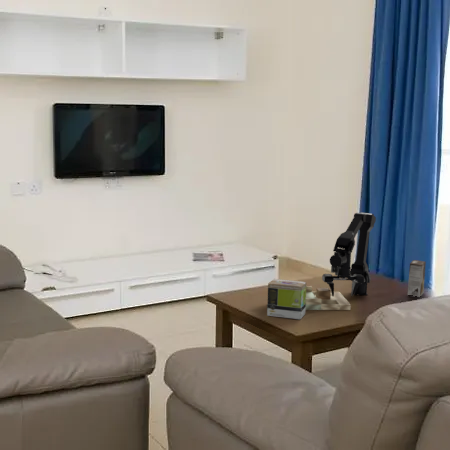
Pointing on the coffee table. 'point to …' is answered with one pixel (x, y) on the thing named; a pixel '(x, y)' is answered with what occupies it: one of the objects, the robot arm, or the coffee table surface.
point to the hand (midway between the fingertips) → (342, 296)
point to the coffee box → (416, 278)
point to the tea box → (286, 298)
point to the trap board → (325, 301)
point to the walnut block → (323, 293)
